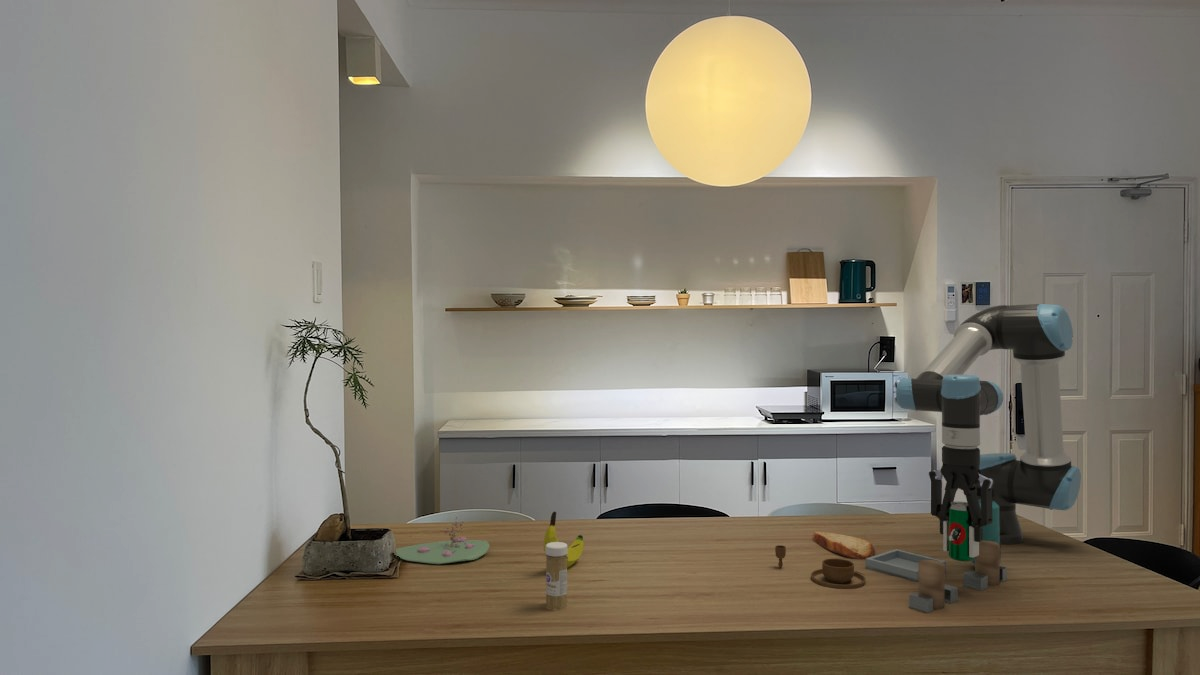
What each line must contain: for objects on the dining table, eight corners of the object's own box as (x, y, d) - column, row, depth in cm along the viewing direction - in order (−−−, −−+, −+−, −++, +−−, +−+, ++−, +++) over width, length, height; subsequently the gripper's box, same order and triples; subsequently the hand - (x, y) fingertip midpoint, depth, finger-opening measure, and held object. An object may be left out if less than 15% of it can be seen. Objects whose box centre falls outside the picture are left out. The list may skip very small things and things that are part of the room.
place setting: (821, 597, 168) (821, 570, 168) (770, 570, 187) (770, 546, 187) (886, 587, 174) (886, 561, 174) (830, 562, 193) (830, 539, 193)
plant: (390, 568, 189) (390, 531, 189) (392, 545, 209) (392, 512, 209) (492, 560, 195) (492, 525, 195) (485, 539, 215) (485, 507, 215)
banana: (589, 560, 194) (589, 500, 194) (557, 580, 178) (556, 515, 178) (573, 558, 196) (573, 498, 195) (539, 578, 180) (539, 513, 180)
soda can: (976, 562, 165) (976, 506, 165) (951, 561, 166) (951, 505, 166) (970, 555, 170) (970, 501, 170) (945, 554, 171) (945, 500, 171)
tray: (895, 559, 194) (895, 549, 194) (945, 571, 183) (945, 561, 183) (865, 568, 186) (865, 558, 186) (916, 582, 175) (916, 571, 175)
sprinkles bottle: (541, 609, 160) (540, 544, 159) (556, 603, 163) (556, 539, 163) (557, 614, 157) (556, 548, 156) (572, 608, 160) (572, 543, 160)
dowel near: (926, 600, 164) (926, 558, 164) (949, 607, 160) (949, 563, 160) (913, 605, 161) (913, 562, 161) (936, 612, 157) (936, 568, 157)
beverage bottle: (1004, 575, 181) (1004, 489, 180) (973, 573, 182) (973, 488, 182) (995, 566, 187) (996, 484, 187) (966, 565, 188) (966, 483, 188)
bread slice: (814, 537, 216) (814, 523, 216) (882, 545, 207) (882, 531, 207) (798, 553, 200) (798, 538, 200) (870, 563, 191) (870, 548, 191)
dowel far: (981, 577, 179) (981, 539, 179) (1003, 583, 175) (1003, 543, 175) (970, 582, 176) (970, 542, 176) (993, 588, 172) (993, 547, 172)
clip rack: (989, 576, 180) (989, 563, 180) (1006, 580, 177) (1006, 567, 177) (909, 609, 159) (909, 594, 159) (927, 614, 156) (927, 599, 156)
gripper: (912, 443, 172) (912, 546, 173) (994, 453, 158) (994, 566, 158) (930, 439, 177) (930, 540, 177) (1011, 449, 163) (1012, 559, 163)
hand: (960, 552), depth 168 cm, fingers closed on soda can, 5 cm apart
